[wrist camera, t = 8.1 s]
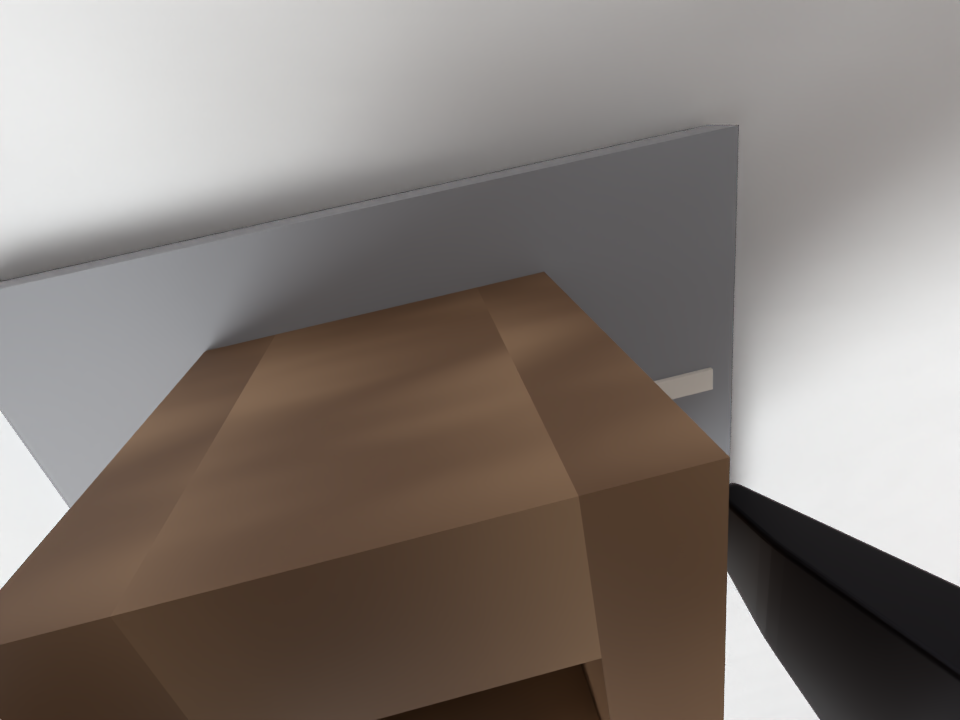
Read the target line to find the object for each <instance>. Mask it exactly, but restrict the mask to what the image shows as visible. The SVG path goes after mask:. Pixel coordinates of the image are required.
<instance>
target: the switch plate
mask: <svg viewBox="0 0 960 720" xmlns="http://www.w3.org/2000/svg"><path fill="white" fill-rule="evenodd" d="M738 135H739V125H706V126H702V127H697V128H693V129H688V130H684V131H679V132H675V133H670V134H665V135H661V136H656V137H652V138H647V139H643V140H638V141H634V142H629V143H625V144H620V145H616V146H611V147H607V148H602V149H598V150H593V151H589V152H584V153H580V154H575V155H571V156H566V157H562V158H557V159H553V160H548V161H543V162H539V163H534V164H530V165H525V166H521V167H516V168H512V169H507V170H503V171H498V172H494V173H489V174H485V175H480V176H476V177H471V178H467V179H462V180H458V181H453V182H449V183H444V184H440V185H435V186H431V187H426V188H421V189H417V190H412V191H408V192H403V193H399V194H394V195H390V196H385V197H381V198H376V199H372V200H367V201H363V202H358V203H354V204H349V205H345V206H340V207H336V208H331V209H327V210H322V211H318V212H313V213H309V214H304V215H299V216H295V217H290V218H286V219H281V220H277V221H272V222H268V223H263V224H259V225H254V226H250V227H245V228H241V229H236V230H232V231H227V232H223V233H218V234H214V235H209V236H205V237H200V238H196V239H191V240H187V241H182V242H177V243H173V244H168V245H164V246H159V247H155V248H150V249H146V250H141V251H137V252H132V253H128V254H123V255H119V256H114V257H110V258H105V259H101V260H96V261H92V262H87V263H83V264H78V265H74V266H69V267H65V268H60V269H55V270H51V271H46V272H42V273H37V274H33V275H28V276H24V277H19V278H15V279H10V280H6V281H1V282H0V411H1V412H2V413H3V415H4V416H5V418H6V419H7V420H8V422H9V423H10V425H11V426H12V428H13V429H14V430H15V432H16V433H17V435H18V436H19V437H20V439H21V440H22V442H23V443H24V445H25V446H26V447H27V449H28V450H29V452H30V453H31V454H32V456H33V457H34V459H35V460H36V461H37V463H38V464H39V466H40V467H41V469H42V470H43V471H44V473H45V474H46V476H47V477H48V478H49V480H50V481H51V483H52V484H53V485H54V487H55V488H56V490H57V491H58V493H59V494H60V495H61V497H62V498H63V500H64V501H65V502H66V504H67V505H68V507H69V508H71V507H72V506H73V505H74V503H75V502H76V501H77V500H78V499H79V498H80V496H81V495H82V494H83V493H84V492H85V491H86V489H87V488H88V487H89V486H90V485H91V484H92V482H93V481H94V480H95V479H96V478H97V477H98V475H99V474H100V473H101V472H102V471H103V470H104V468H105V467H106V466H107V465H108V464H109V463H110V461H111V460H112V459H113V458H114V457H115V456H116V454H117V453H118V452H119V451H120V450H121V449H122V447H123V446H124V445H125V444H126V443H127V442H128V440H129V439H130V438H131V437H132V436H133V435H134V433H135V432H136V431H137V430H138V429H139V428H140V426H141V425H142V424H143V423H144V422H145V421H146V419H147V418H148V417H149V416H150V415H151V414H152V412H153V411H154V410H155V409H156V408H157V407H158V405H159V404H160V403H161V402H162V401H163V400H164V398H165V397H166V396H167V395H168V394H169V393H170V391H171V390H172V389H173V388H174V387H175V386H176V384H177V383H178V382H179V381H180V380H181V379H182V377H183V376H184V375H185V374H186V373H187V372H188V370H189V369H190V368H191V367H192V366H193V365H194V363H195V362H196V361H197V360H198V359H199V358H200V356H201V355H202V354H203V353H204V352H205V351H208V350H212V349H216V348H221V347H225V346H229V345H234V344H238V343H242V342H246V341H251V340H255V339H259V338H263V337H268V336H272V335H276V334H280V333H285V332H289V331H293V330H297V329H302V328H306V327H310V326H315V325H319V324H323V323H327V322H332V321H336V320H340V319H344V318H349V317H353V316H357V315H361V314H366V313H370V312H374V311H378V310H383V309H387V308H391V307H395V306H400V305H404V304H408V303H413V302H417V301H421V300H425V299H430V298H434V297H438V296H442V295H447V294H451V293H455V292H459V291H464V290H468V289H472V288H476V287H481V286H485V285H489V284H494V283H498V282H502V281H506V280H511V279H515V278H519V277H523V276H528V275H532V274H536V273H540V272H545V273H546V274H547V275H548V276H549V277H550V278H551V279H552V280H553V281H554V282H555V283H556V284H557V285H558V286H559V287H560V288H561V289H562V290H563V291H564V292H565V293H566V294H567V295H568V296H569V297H570V298H571V299H572V300H573V301H574V302H575V303H576V304H577V305H578V306H579V307H580V308H581V309H582V310H583V311H584V312H585V313H586V314H587V315H588V316H589V317H590V318H591V319H592V320H593V321H594V322H595V323H596V324H597V325H598V326H599V327H600V328H601V329H602V330H603V331H604V332H605V333H606V334H607V335H608V336H609V337H610V338H611V339H612V340H613V341H614V342H615V343H616V344H617V345H618V346H619V347H620V348H621V349H622V350H623V351H624V352H625V353H626V354H627V355H628V356H629V357H630V358H631V359H632V360H633V361H634V362H635V363H636V364H637V365H638V366H639V367H640V368H641V369H642V370H643V371H644V372H645V373H646V374H647V375H648V376H649V377H650V378H651V379H652V380H653V381H654V382H655V383H656V384H657V385H658V386H659V387H660V388H661V389H662V390H663V391H664V392H665V393H666V394H667V395H668V396H669V397H670V398H671V399H672V400H673V401H674V402H675V403H676V404H677V405H678V406H679V407H680V408H681V409H682V410H683V411H684V412H685V413H686V414H687V415H688V416H689V417H690V418H691V419H692V420H693V421H694V422H695V423H696V424H697V425H698V426H699V427H700V428H701V429H702V430H703V431H704V432H705V433H706V434H707V435H708V436H709V437H710V438H711V439H712V440H713V441H714V442H715V443H716V444H717V445H718V446H719V447H720V448H721V449H722V450H723V451H724V452H725V453H726V454H727V455H728V456H729V457H730V433H731V395H732V358H733V321H734V284H735V246H736V209H737V172H738ZM729 470H730V468H729Z"/></svg>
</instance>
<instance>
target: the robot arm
mask: <svg viewBox="0 0 960 720" xmlns="http://www.w3.org/2000/svg"><path fill="white" fill-rule="evenodd" d="M727 572H728V574H729V575H730V577H731V579H732V581H733V583H734V584H735V586H736V588H737V590H738V592H739V593H740V595H741V597H742V599H743V601H744V603H745V604H746V606H747V608H748V610H749V612H750V613H751V615H752V617H753V619H754V621H755V622H756V624H757V626H758V628H759V629H760V631H761V633H762V635H763V636H764V638H765V639H766V641H767V643H768V644H769V646H770V647H771V649H772V650H773V652H774V653H775V655H776V656H777V658H778V659H779V661H780V662H781V664H782V665H783V666H784V668H785V669H786V671H787V672H788V674H789V675H790V677H791V678H792V680H793V681H794V682H795V684H796V685H797V687H798V688H799V690H800V691H801V693H802V694H803V696H804V697H805V699H806V700H807V701H808V703H809V704H810V706H811V707H812V709H813V710H814V712H815V713H816V715H817V716H818V717H819V719H820V720H960V587H959V586H957V585H955V584H953V583H950V582H948V581H946V580H944V579H942V578H940V577H938V576H935V575H933V574H931V573H929V572H927V571H925V570H923V569H920V568H918V567H916V566H914V565H912V564H910V563H907V562H905V561H903V560H901V559H899V558H897V557H895V556H892V555H890V554H888V553H886V552H884V551H882V550H880V549H877V548H875V547H873V546H871V545H869V544H867V543H865V542H862V541H860V540H858V539H856V538H854V537H852V536H849V535H847V534H845V533H843V532H841V531H839V530H837V529H834V528H832V527H830V526H828V525H826V524H824V523H822V522H819V521H817V520H815V519H813V518H811V517H809V516H807V515H804V514H802V513H800V512H798V511H796V510H794V509H791V508H789V507H787V506H785V505H783V504H781V503H779V502H776V501H774V500H772V499H770V498H768V497H766V496H764V495H761V494H759V493H757V492H755V491H753V490H751V489H749V488H746V487H744V486H742V485H740V484H736V483H730V484H729V510H728V552H727Z"/></svg>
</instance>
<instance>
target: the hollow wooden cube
mask: <svg viewBox="0 0 960 720" xmlns="http://www.w3.org/2000/svg"><path fill="white" fill-rule="evenodd" d="M729 468H730V457H729V456H728V455H727V454H726V453H725V452H724V451H723V450H722V449H721V448H720V447H719V446H718V445H717V444H716V443H715V442H714V441H713V440H712V439H711V438H710V437H709V436H708V435H707V434H706V433H705V432H704V431H703V430H702V429H701V428H700V427H699V426H698V425H697V424H696V423H695V422H694V421H693V420H692V419H691V418H690V417H689V416H688V415H687V414H686V413H685V412H684V411H683V410H682V409H681V408H680V407H679V406H678V405H677V404H676V403H675V402H674V401H673V400H672V399H671V398H670V397H669V396H668V395H667V394H666V393H665V392H664V391H663V390H662V389H661V388H660V387H659V386H658V385H657V384H656V383H655V382H654V381H653V380H652V379H651V378H650V377H649V376H648V375H647V374H646V373H645V372H644V371H643V370H642V369H641V368H640V367H639V366H638V365H637V364H636V363H635V362H634V361H633V360H632V359H631V358H630V357H629V356H628V355H627V354H626V353H625V352H624V351H623V350H622V349H621V348H620V347H619V346H618V345H617V344H616V343H615V342H614V341H613V340H612V339H611V338H610V337H609V336H608V335H607V334H606V333H605V332H604V331H603V330H602V329H601V328H600V327H599V326H598V325H597V324H596V323H595V322H594V321H593V320H592V319H591V318H590V317H589V316H588V315H587V314H586V313H585V312H584V311H583V310H582V309H581V308H580V307H579V306H578V305H577V304H576V303H575V302H574V301H573V300H572V299H571V298H570V297H569V296H568V295H567V294H566V293H565V292H564V291H563V290H562V289H561V288H560V287H559V286H558V285H557V284H556V283H555V282H554V281H553V280H552V279H551V278H550V277H549V276H548V275H547V274H546V273H545V272H540V273H536V274H532V275H528V276H523V277H519V278H515V279H511V280H506V281H502V282H498V283H494V284H489V285H485V286H481V287H476V288H472V289H468V290H464V291H459V292H455V293H451V294H447V295H442V296H438V297H434V298H430V299H425V300H421V301H417V302H413V303H408V304H404V305H400V306H395V307H391V308H387V309H383V310H378V311H374V312H370V313H366V314H361V315H357V316H353V317H349V318H344V319H340V320H336V321H332V322H327V323H323V324H319V325H315V326H310V327H306V328H302V329H297V330H293V331H289V332H285V333H280V334H276V335H272V336H268V337H263V338H259V339H255V340H251V341H246V342H242V343H238V344H234V345H229V346H225V347H221V348H216V349H212V350H208V351H205V352H204V353H203V354H202V355H201V356H200V358H199V359H198V360H197V361H196V362H195V363H194V365H193V366H192V367H191V368H190V369H189V370H188V372H187V373H186V374H185V375H184V376H183V377H182V379H181V380H180V381H179V382H178V383H177V384H176V386H175V387H174V388H173V389H172V390H171V391H170V393H169V394H168V395H167V396H166V397H165V398H164V400H163V401H162V402H161V403H160V404H159V405H158V407H157V408H156V409H155V410H154V411H153V412H152V414H151V415H150V416H149V417H148V418H147V419H146V421H145V422H144V423H143V424H142V425H141V426H140V428H139V429H138V430H137V431H136V432H135V433H134V435H133V436H132V437H131V438H130V439H129V440H128V442H127V443H126V444H125V445H124V446H123V447H122V449H121V450H120V451H119V452H118V453H117V454H116V456H115V457H114V458H113V459H112V460H111V461H110V463H109V464H108V465H107V466H106V467H105V468H104V470H103V471H102V472H101V473H100V474H99V475H98V477H97V478H96V479H95V480H94V481H93V482H92V484H91V485H90V486H89V487H88V488H87V489H86V491H85V492H84V493H83V494H82V495H81V496H80V498H79V499H78V500H77V501H76V502H75V503H74V505H73V506H72V507H71V508H70V509H69V510H68V512H67V513H66V514H65V515H64V516H63V517H62V519H61V520H60V521H59V522H58V523H57V524H56V526H55V527H54V528H53V529H52V530H51V531H50V533H49V534H48V535H47V536H46V537H45V538H44V540H43V541H42V542H41V543H40V544H39V545H38V547H37V548H36V549H35V550H34V551H33V552H32V554H31V555H30V556H29V557H28V558H27V559H26V561H25V562H24V563H23V564H22V565H21V566H20V568H19V569H18V570H17V571H16V572H15V573H14V575H13V576H12V577H11V578H10V579H9V580H8V582H7V583H6V584H5V585H4V586H3V587H2V589H1V590H0V719H1V720H723V719H724V678H725V636H726V594H727V552H728V510H729Z"/></svg>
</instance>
